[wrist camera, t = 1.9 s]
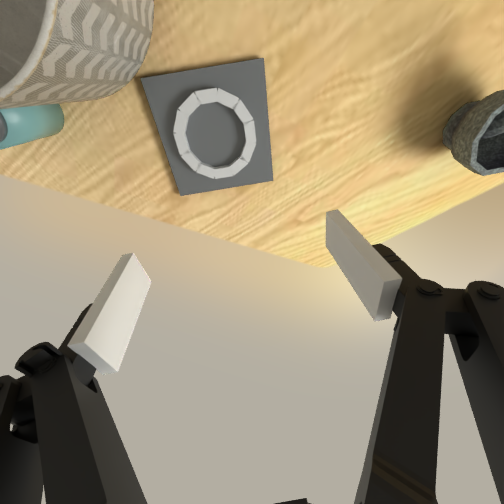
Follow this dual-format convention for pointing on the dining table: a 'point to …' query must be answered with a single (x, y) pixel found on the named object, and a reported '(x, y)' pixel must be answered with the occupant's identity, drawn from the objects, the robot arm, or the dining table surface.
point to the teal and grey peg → (29, 124)
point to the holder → (213, 125)
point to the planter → (70, 49)
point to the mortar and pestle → (478, 135)
